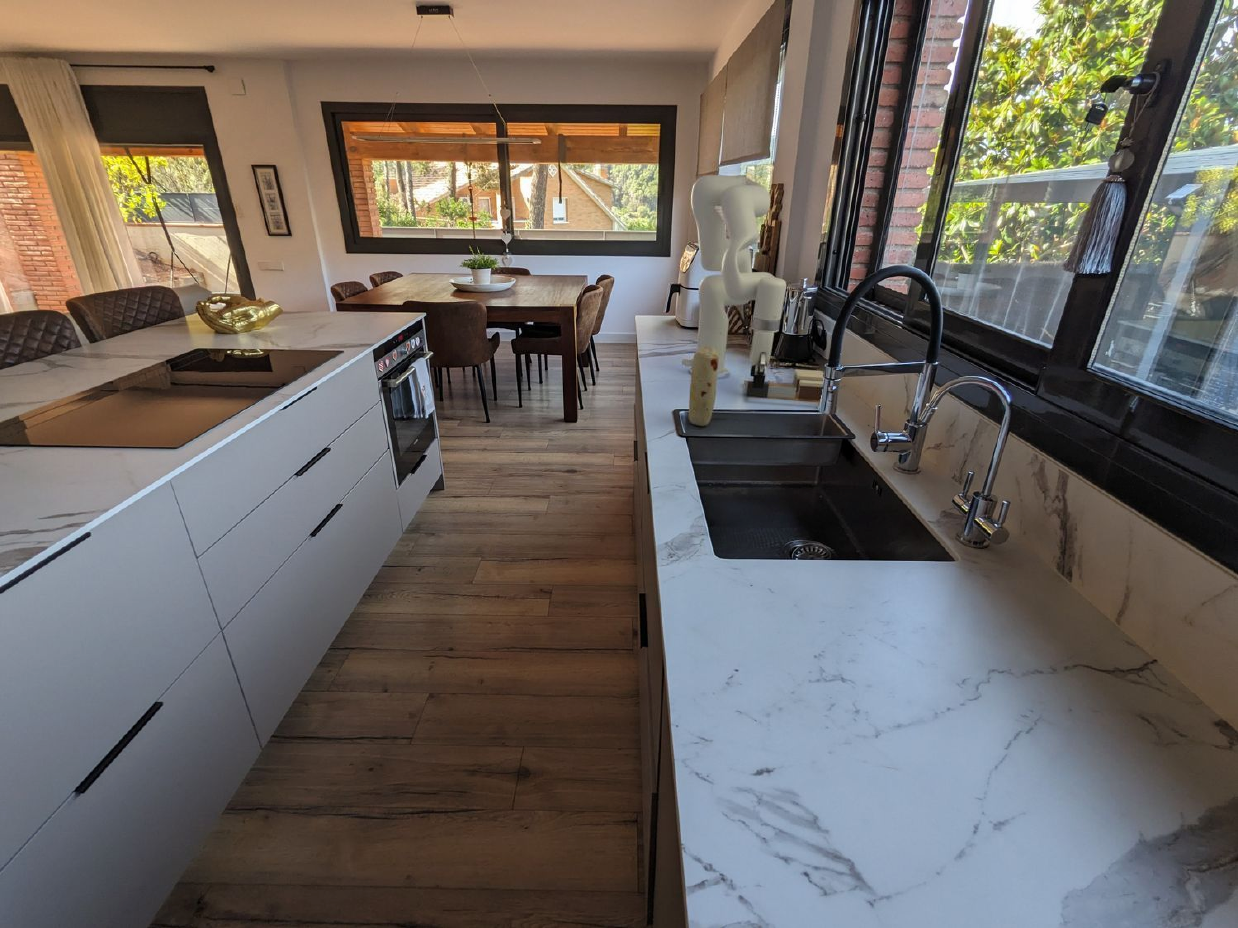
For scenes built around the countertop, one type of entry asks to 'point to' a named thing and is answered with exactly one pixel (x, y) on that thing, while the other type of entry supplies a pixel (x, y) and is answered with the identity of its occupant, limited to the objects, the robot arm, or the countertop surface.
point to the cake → (806, 376)
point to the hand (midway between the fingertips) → (756, 382)
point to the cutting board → (779, 397)
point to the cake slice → (810, 389)
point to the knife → (770, 391)
